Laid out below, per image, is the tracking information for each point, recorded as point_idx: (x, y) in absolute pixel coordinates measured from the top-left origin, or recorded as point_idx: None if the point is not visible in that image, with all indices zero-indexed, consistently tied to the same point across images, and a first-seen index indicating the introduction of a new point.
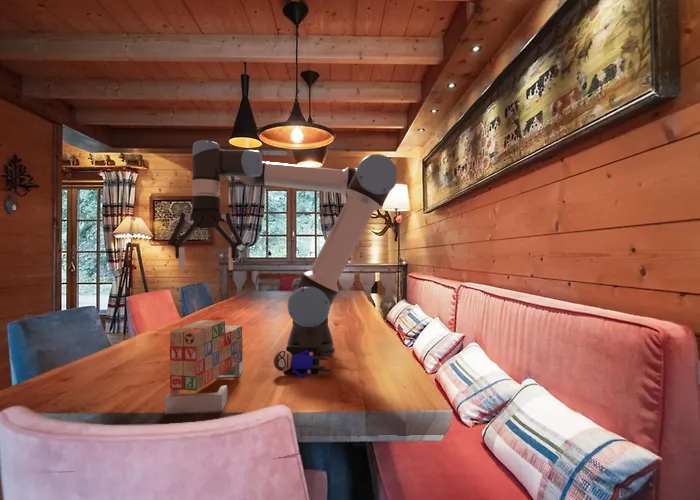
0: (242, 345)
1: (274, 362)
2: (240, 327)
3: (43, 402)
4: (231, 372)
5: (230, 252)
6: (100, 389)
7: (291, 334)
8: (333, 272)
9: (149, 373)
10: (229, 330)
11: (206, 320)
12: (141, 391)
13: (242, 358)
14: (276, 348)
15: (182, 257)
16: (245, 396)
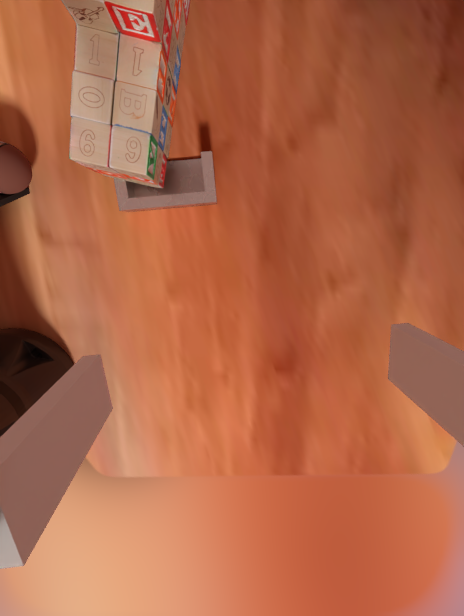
0: (93, 170)
1: (21, 154)
2: (70, 147)
3: (452, 24)
4: (145, 191)
5: (8, 434)
6: (378, 98)
7: (41, 377)
8: None
9: (321, 201)
10: (80, 74)
11: (130, 3)
12: (292, 80)
13: (119, 208)
14: None
15: (452, 379)
16: (63, 31)
